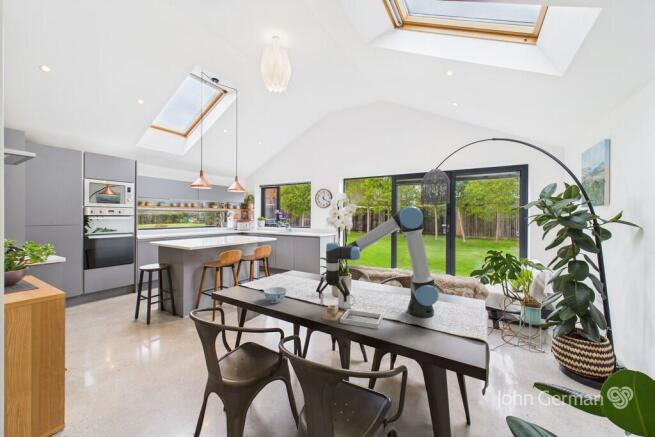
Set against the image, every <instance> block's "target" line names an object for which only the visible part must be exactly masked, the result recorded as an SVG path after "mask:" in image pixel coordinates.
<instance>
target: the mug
mask: <svg viewBox="0 0 655 437" xmlns="http://www.w3.org/2000/svg"><path fill="white" fill-rule="evenodd" d="M342 288H343V287H342ZM347 288H348V290H349V292H350V295H349V296H347V301H346V302H345V307H344V308H342V296H343V294H342V293H341V292H340V290H339V289H338V288H337V297H338V298H337V299H338V300H337V302H338V304H337V306H338V308H340V309H345V308H346V309H350V308H351V307H354V305H355V304H356V298H355V296H354V294H353V291H352V288H349V287H347ZM343 289H344V288H343ZM344 291H345V290H344ZM352 298H353V301H354V302H353V301H352Z"/></svg>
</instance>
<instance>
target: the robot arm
mask: <svg viewBox="0 0 655 437" xmlns="http://www.w3.org/2000/svg"><path fill="white" fill-rule="evenodd" d="M423 220H424V215H423V213H422V211H421V210H420V209H419V208H418V207H416V206H415V205H408V206H404V207H402V208H400V209H399V210H398V211H397V212H396V213H394V214H393V215H391V216H390V218H389V219H388V220H386V221H385V222H383V223H381V224H380V225H378V226H376V227H375V228H373V229H371V230H370V231H369V232H366V233H364V235H361V236H360V237H359V238H357V239H355V240H353V241H352V242H350V243H348V244H347V245H346V246H340V244H339V242H327V243H326V246H325V248H326V249H325V262H326V263H325V268H326V270H325V276H324V275H323V276H321V277H320V282H319V283H318V286H317V288H316V289H315V292H316V293H318V299H319V300H320V301H319V302H320V304H319V305H320V306H322V305H324V290H325V289H326V288H327V287H328V285H329V286H330V287H331V286H332V287H336V288H337V290H338V289H339V290H340V292H341V293H342V294H343V296H342V308H341V309H344V307H345V302H346V301H347V296H349V295H350V292H349V290H348V288H349V287H348V286H347V284H346V281H345V278H344V277H343V278H340V270H339V269H340V260H343V261H344V260H345V261H359V260H360V256H361V252H362V251H364V250H366V249H368V248H369V247H371V246H372V245H374V244H376V243H377V242H379V241H381V240H382V239H384V238H386V237H388V236H389V235H391V234H392V233H394V232H396V231H399V230H400V231H401V233H402V234H404V236H405V238H406V244H407V248H408V254H409V258H410V262H411V263H410V265H411V270H412V273H413V274H411V275H410V299H409V302H408V305H407V313H408V314H409V315H411V316H414V317H416V318H417V317H418V318H430V317H433V316H434V315H435V310H434V306H433V305H435V304H436V303H437V302H438V300H439V295H440V294H439V291H438V289H437V288H436V283H435V277H434V276H432V275H431V274H430V273H431V272H430V269H429V268H430V267H429V264H428V258H427V257H428V256H427V253H426V247H425V242H424V238H423V237H424V236H423V233H422V232H423V230H424V229H425V227H424V222H423ZM324 281H326V283H325V284H324ZM323 284H324V285H323ZM322 285H323V286H322ZM343 288H344V289H343ZM344 290H345V291H344Z"/></svg>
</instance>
